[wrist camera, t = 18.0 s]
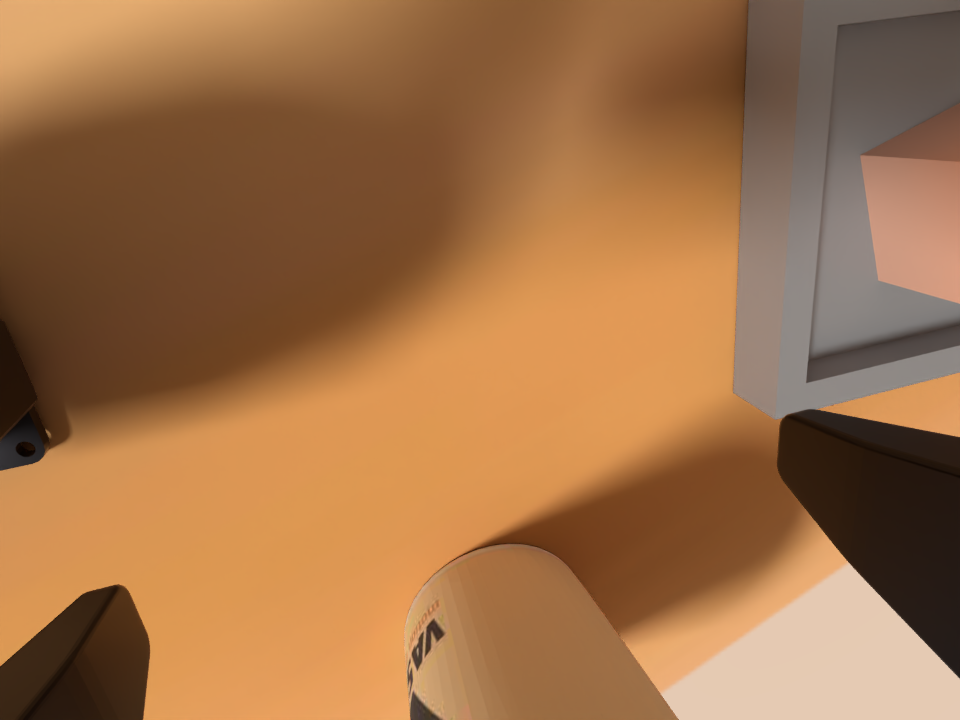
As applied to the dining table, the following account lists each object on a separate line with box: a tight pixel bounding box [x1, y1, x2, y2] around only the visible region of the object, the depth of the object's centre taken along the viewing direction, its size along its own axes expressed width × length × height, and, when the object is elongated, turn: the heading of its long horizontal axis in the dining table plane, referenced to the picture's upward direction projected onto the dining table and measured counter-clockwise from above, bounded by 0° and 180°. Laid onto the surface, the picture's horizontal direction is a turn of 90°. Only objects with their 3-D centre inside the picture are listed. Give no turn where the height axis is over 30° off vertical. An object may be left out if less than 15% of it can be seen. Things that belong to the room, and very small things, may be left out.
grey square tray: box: [733, 0, 960, 420], centre depth 23 cm, size 14×14×2 cm
